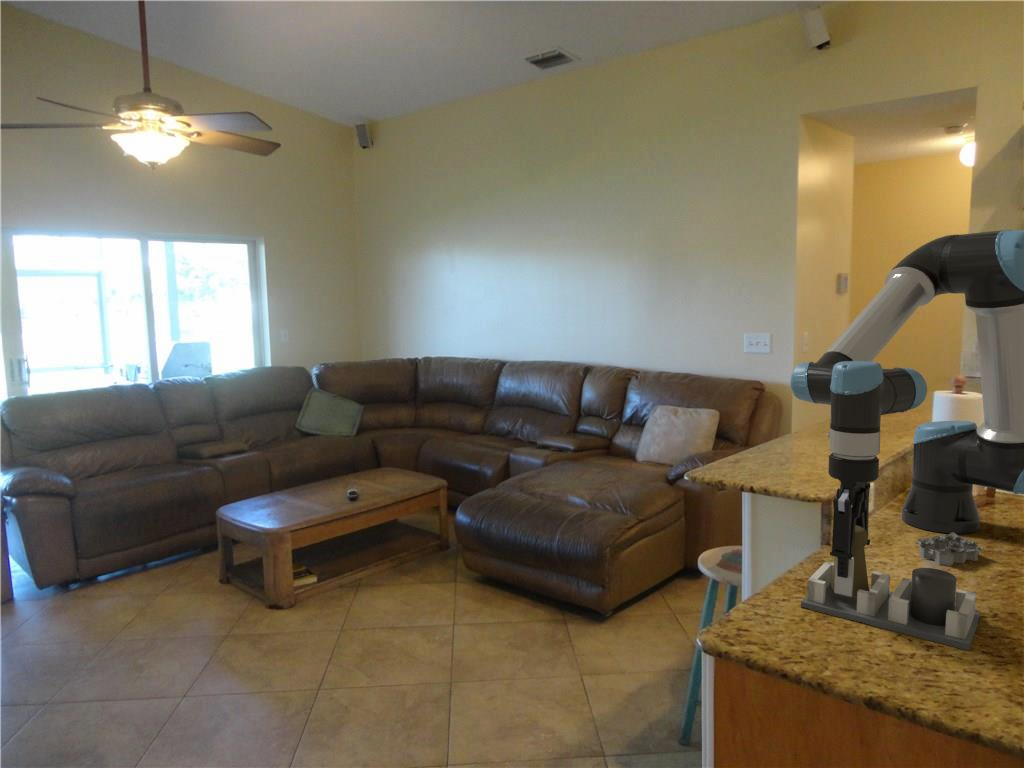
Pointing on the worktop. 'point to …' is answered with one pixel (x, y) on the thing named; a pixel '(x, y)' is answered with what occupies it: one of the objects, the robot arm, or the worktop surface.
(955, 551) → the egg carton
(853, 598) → the socket board
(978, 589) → the worktop surface
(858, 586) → the cork
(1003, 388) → the robot arm
